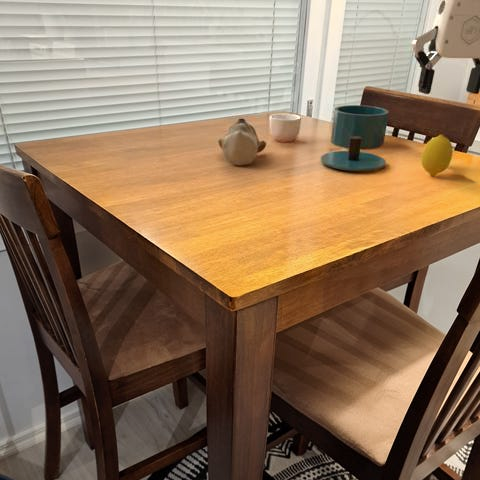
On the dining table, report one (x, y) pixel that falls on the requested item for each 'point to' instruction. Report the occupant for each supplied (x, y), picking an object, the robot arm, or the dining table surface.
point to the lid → (353, 158)
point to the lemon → (437, 155)
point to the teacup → (284, 126)
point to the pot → (359, 125)
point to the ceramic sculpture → (241, 143)
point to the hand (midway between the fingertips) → (448, 92)
